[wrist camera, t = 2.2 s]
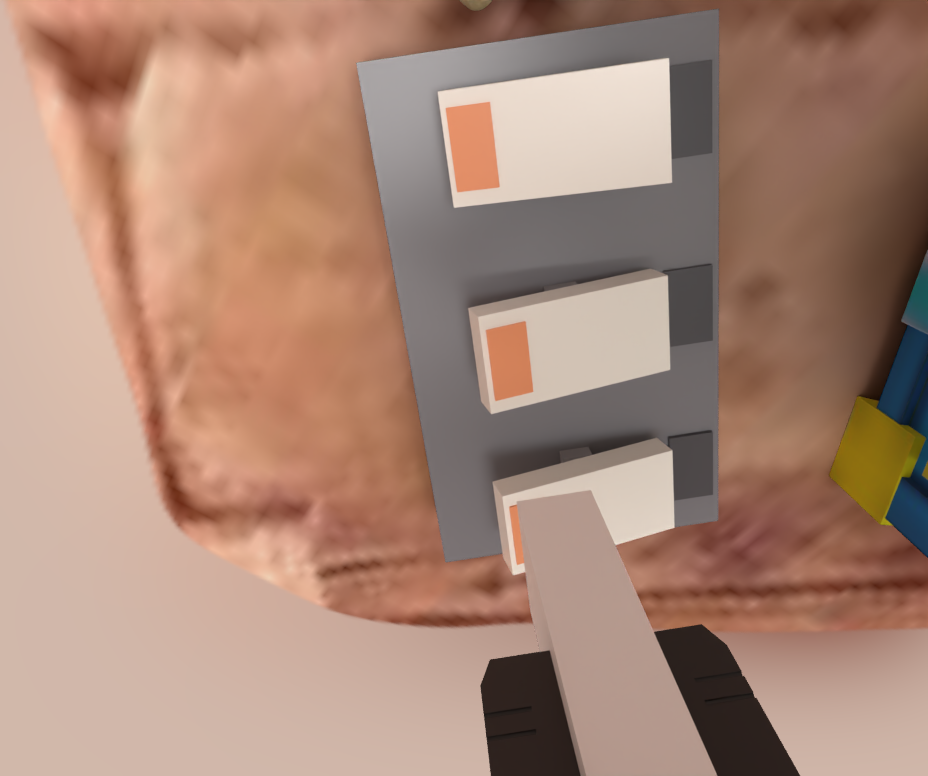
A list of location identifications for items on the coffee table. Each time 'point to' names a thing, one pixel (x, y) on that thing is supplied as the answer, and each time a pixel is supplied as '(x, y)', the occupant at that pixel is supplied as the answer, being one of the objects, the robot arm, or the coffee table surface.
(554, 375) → the rocker
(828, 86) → the coffee table surface
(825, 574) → the coffee table surface
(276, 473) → the coffee table surface
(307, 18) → the coffee table surface
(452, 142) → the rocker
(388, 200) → the rocker switch panel
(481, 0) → the grey ribbed rounded piece
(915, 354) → the decorative book
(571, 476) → the small box
